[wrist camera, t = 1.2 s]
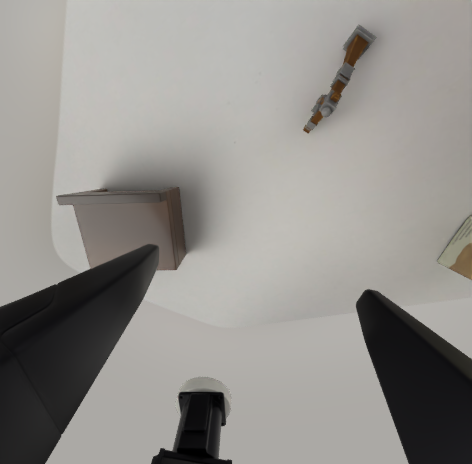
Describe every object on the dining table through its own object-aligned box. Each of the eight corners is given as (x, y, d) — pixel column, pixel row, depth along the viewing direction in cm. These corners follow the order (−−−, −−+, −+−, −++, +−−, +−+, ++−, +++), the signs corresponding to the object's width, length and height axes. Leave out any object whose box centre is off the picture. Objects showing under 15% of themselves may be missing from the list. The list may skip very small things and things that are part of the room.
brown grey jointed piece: (293, 134, 20) (321, 102, 15) (326, 69, 21) (360, 21, 16) (309, 144, 20) (341, 115, 15) (340, 79, 21) (378, 34, 16)
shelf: (186, 254, 25) (171, 277, 19) (113, 255, 25) (79, 279, 20) (179, 187, 22) (159, 193, 17) (98, 189, 23) (55, 195, 17)
